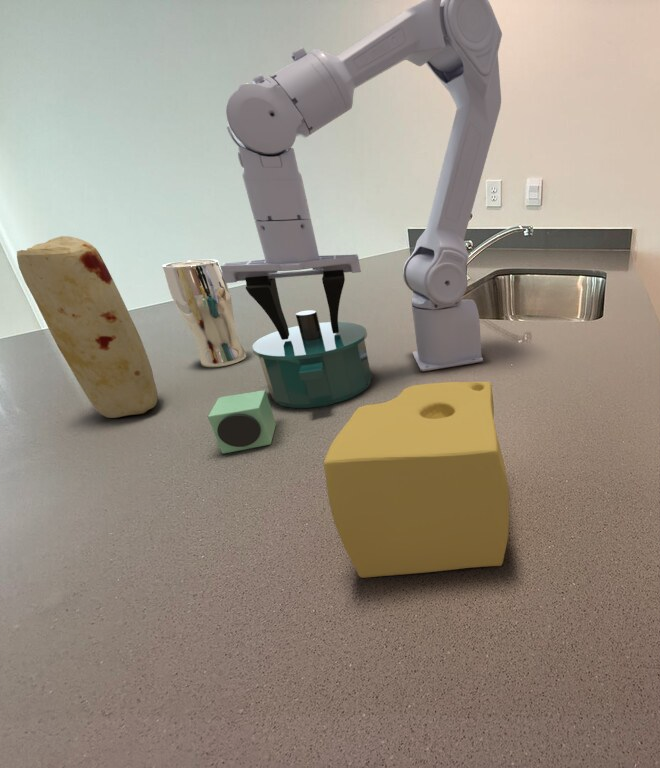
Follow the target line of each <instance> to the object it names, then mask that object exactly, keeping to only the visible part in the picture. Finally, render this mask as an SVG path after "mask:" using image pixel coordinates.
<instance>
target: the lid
mask: <svg viewBox="0 0 660 768" xmlns="http://www.w3.org/2000/svg"><path fill="white" fill-rule="evenodd" d="M295 319H296V320H297V321H296V322H297V325H295V326H291V327H288V330H289V337H288V339H285V340H282V339H281V337H280V335H279V332H278V331H277V330H276V331H274V332H270V333H268V334H266V335H264V336H261V337H260V338H258V339H256V341H254V342H253V344H252V346H251V349H252V352H253V354H254V355H255V356H257V357H258V358H259V357H261V358H265V359H271V360H300V359H309V358H315V357H321V356H326V355H330V354H334V353H338V352H341V351H344V350H347V349H349V348H352V347H354V346H356V345H358V344H360V343H361V342H362V341H364V340H366V339H367V337H368V330H367V329H366V327H364V326H363V325H361V324H358V323H354V322H344V321H338V327H339V333H333V331H332V327H331V321H327V322H320V320H319V316H318V311H317V310H312V309H311V310H310V309H309V310H302V311H298V312H296V313H295Z"/></svg>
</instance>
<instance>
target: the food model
mask: <svg viewBox="0 0 660 768" xmlns="http://www.w3.org/2000/svg"><path fill="white" fill-rule="evenodd" d="M16 261H17V266H18V269H19V271H20V273H21V276H22V279H23V281H24V283H25V285H26V287H27V288H28V290H29V292H30V294H31V296H32V298H33V300H34V302H35V304H36V306H37V308H38V310H39V312H40V314H41V317H42V318H43V320H44V323H45V324H46V326H47V328H48V331H49V332H50V335H51V336H52V339H53V340H54V342H55V344H56V346H57V348H58V350H59V351H60V353H61V355H62V356H63V358H64V359H65V362H66V363H67V365H68V367H69V369H70V370H71V372H72V374H73V375H74V378H75V379H76V381H77V382H78V385H79V386H80V387H81V390H82V391H83V393H84V394H85V396H86V397H87V399H88V401H89V402H90V404H91V405H92V406H93V408H94V410H95V411H96V412H97V413H99V414H100V415H102V416H103V417H105V418H107V419H117V418H121V417H127V416H134V415H141V414H145V413H146V412H148V411H150V410H151V409H153V408H154V407H155V406H156V405H157V403H158V397H159V396H158V394H159V393H158V390H157V389H158V388H157V384H156V381H155V377H154V372H153V368H152V365H151V362H150V359H149V357H148V354H147V351H146V348H145V346H144V343H143V341H142V338H141V336H140V334H139V332H138V329H137V327H136V324H135V323H134V321H133V319H132V317H131V315H130V313H129V310H128V308H127V306H126V304H125V301H124V299H123V297H122V295H121V293H120V290H119V289H118V286H117V285H116V283H115V280H114V278H113V277H112V274H111V273H110V271H109V269H108V267H107V265H106V262H105V261H104V260H103V257H102V255H101V254H100V252H99V250H98V249H97V248H96V247H95V246H94V245H92V243H90V242H88V241H86V240H84V239H81V238H77V237H75V236H70V235H69V236H67V235H61V236H58V237H55V238H52V239H49V240H47V241H45V242H41V243H37V244H34V245H33V246H31V247H28V248H27V247H26V250H25V249H20V250H17V251H16Z"/></svg>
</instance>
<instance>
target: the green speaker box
mask: <svg viewBox="0 0 660 768" xmlns="http://www.w3.org/2000/svg"><path fill="white" fill-rule="evenodd" d="M207 418H208V420H209V423H210V426H211V428H212V432H213V433H214V436H215V439H216V441H217V443H218V447H219V449H220V451H221V453H222V454H223V455H224V454H231V453H235V452H239V451H245V450H249V449H255V448H259V447H260V448H261V447H264V446H270V445H272V441H273V437H274V434H275V431H276V430H275V429H276V427H277V422H276V420H275V417H274V413H273V410H272V407H271V403H270V400H269V398H268V394H267V391H266V390H265V389H263V390H257V391H251V392H245V393H239V394H238V393H237V394H231V395H225V396H220V397H218V398H217V399H216V401H215V403H214V405H213V407H212V408H211V410H210V412H209V414H208V415H207Z"/></svg>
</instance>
